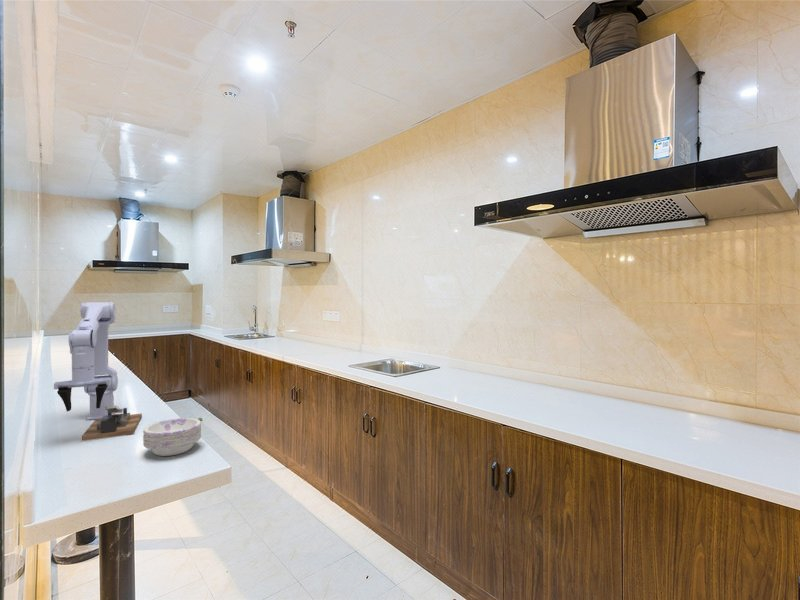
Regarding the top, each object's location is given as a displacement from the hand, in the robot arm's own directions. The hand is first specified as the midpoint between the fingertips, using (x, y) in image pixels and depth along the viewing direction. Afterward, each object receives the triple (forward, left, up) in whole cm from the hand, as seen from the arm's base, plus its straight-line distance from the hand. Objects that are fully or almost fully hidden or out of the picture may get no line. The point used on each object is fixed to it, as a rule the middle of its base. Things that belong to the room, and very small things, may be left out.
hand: (83, 409), depth 130 cm
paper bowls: (+22, +26, -10) cm, 36 cm away
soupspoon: (+5, +30, -11) cm, 32 cm away
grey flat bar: (-9, +6, -4) cm, 12 cm away
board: (-9, +7, -10) cm, 15 cm away
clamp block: (-8, +7, -9) cm, 13 cm away
